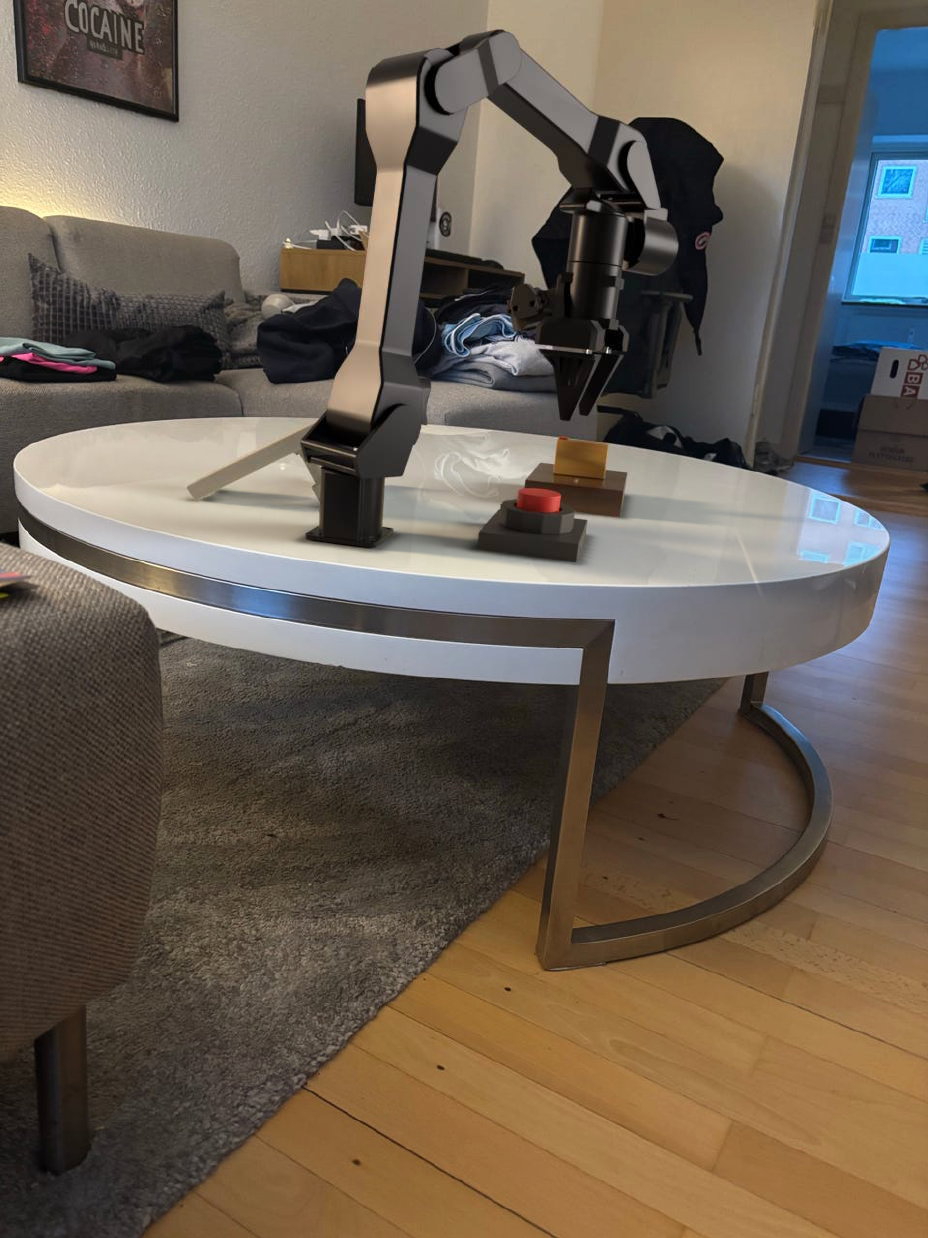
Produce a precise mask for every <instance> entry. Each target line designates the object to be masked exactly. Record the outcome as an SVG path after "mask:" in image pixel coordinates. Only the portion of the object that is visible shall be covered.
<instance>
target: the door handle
mask: <svg viewBox="0 0 928 1238" xmlns="http://www.w3.org/2000/svg"><path fill="white" fill-rule="evenodd" d="M318 419H319V418H317V419H315V420H313V421H311V422H309V423H306V424H305V425H304V426H301V427H299V428H297V429H295V430H293V431H291V432H288V433H287V434H285V435H283V436H281V437H279V438H277V439H275V440H273V441H271V442H269V443H267V444H264V445H263V446H260V447H258V448H257V449H254V450H252V451H251V452H248V453H246V454H245V455H242V456H240V457H239V458H236V459H234V460H232V461H230V462H229V463H226V464H224V465H222V466H220V467H218V468H216V469H214V470H211V471H210V472H208V473H206V474H205V475H203V476H201V477H199V478H198V479H196V480H194V481H193V482H191V483H189V484H187V485H186V490H187V491H188V493H189V494H190V495H191V497H192V498H193V499H194V500H199V499H202V498H204V497H205V496H208V495H210V494H212V493H214V492H216V491H218V490H220V489H223V488H224V487H226V486H228V485H230V484H232V483H234V482H237V481H239V480H241V479H243V478H245V477H247V476H249V475H251V474H253V473H255V472H258V471H259V470H261V469H263V468H265V467H267V466H270V465H271V464H274V463H276V462H277V461H280V460H281V459H284V458H286V457H288V456H289V455H292V454H295V456H298V455H299V456H300V458H301V459H302V460H303V462H304V465H305V467H306V468H307V470H308V472H309V474H310V475H311V478H312V479H313V481H314V484H313V485H312V486H311V489H312V491H313V493H314V495H315V496H316V499H317V500H318V502H319V503H320V479H321V467H322V466H320V465H317V464H313V463H311V464H310V463H307V462H305V459H304V455H303V452H302V448H301V445H300V441H301V439H302V438H303V437H304V436H305V435H306V433H307V432H308V431H309V430H310V429H311V428H312V426H313V425H314V424H315V423H316V422H317V421H318Z"/></svg>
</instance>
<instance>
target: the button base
mask: <svg viewBox="0 0 928 1238" xmlns="http://www.w3.org/2000/svg"><path fill="white" fill-rule="evenodd" d="M575 515H576V512H575V509H573V508H571V507H569V506H567V505H564V504H560V506H559V511H558V512H537V511H528V510H524V509H520V508H517V498H514V499H506V500H503V501H502V502H501V503H500V506H499V508H498V510H497V511H496V512H494V514H493V515H492V516H491V517H490V519H488V521H487V522H485V524H484V525H483V527H481V529H480V530H479V531H478V537H477V538H478V539H477V548H476V549H477V550H480V551H487V552H496V553H501V554H511V555H518V556H525V557H532V558H533V557H534V558H541V559H548V560H549V559H550V560H555V561H556V560H557V561H564V562H571V563H572V562H573V563H577V562H578V559H579V556H580V553H581V550H582V548H583V545H584V541H585V539H586V535H587V529H588V528H587V526H588V519H583V518H575Z"/></svg>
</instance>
